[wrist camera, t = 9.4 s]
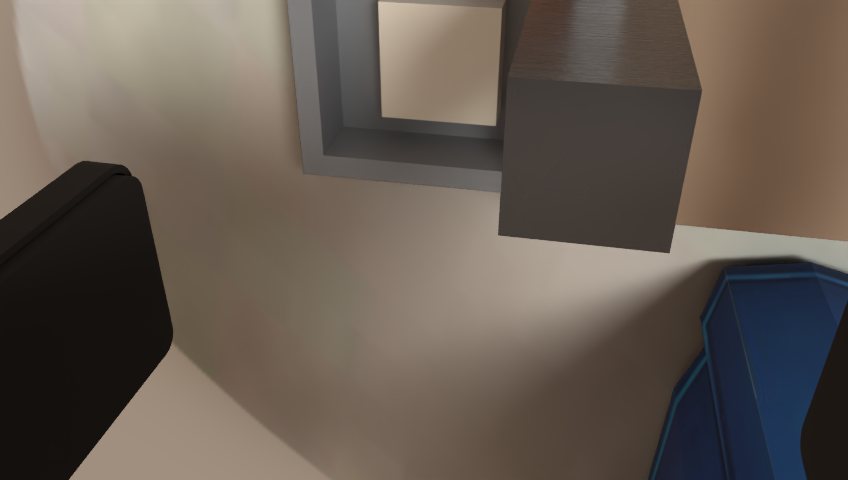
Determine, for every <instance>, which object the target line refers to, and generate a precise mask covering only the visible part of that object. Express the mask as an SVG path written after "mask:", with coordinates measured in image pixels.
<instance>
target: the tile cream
mask: <svg viewBox="0 0 848 480" xmlns="http://www.w3.org/2000/svg"><path fill="white" fill-rule="evenodd" d="M506 8H507V0H379V1H378V13H379V43H380V74H381V105H382V117H390V118H402V119H415V120H427V121H439V122H452V123H464V124H476V125H489V126H496V124H497V120H498V117H499V114H500V110H501V97H502V79H503V62H504V44H505V26H506Z"/></svg>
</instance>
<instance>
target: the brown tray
mask: <svg viewBox="0 0 848 480" xmlns="http://www.w3.org/2000/svg"><path fill="white" fill-rule="evenodd" d="M678 2H679V5H680V9H681V13H682V16H683V20H684V24H685V28H686V31H687V35H688V39H689V43H690V46H691V50H692V54H693V58H694V61H695V65H696V69H697V72H698V76H699V80H700V84H701V87H702V95H701V100H700V105H699V110H698V115H697V120H696V124H695V129H694V134H693V139H692V144H691V149H690V154H689V159H688V164H687V169H686V174H685V179H684V184H683V189H682V193H681V198H680V203H679V208H678V213H677V218H676V223H675V224H677V225H687V226H697V227H707V228H717V229H727V230H737V231H748V232H758V233H768V234H778V235H788V236H798V237H809V238H819V239H829V240H839V241H848V0H678Z"/></svg>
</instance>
